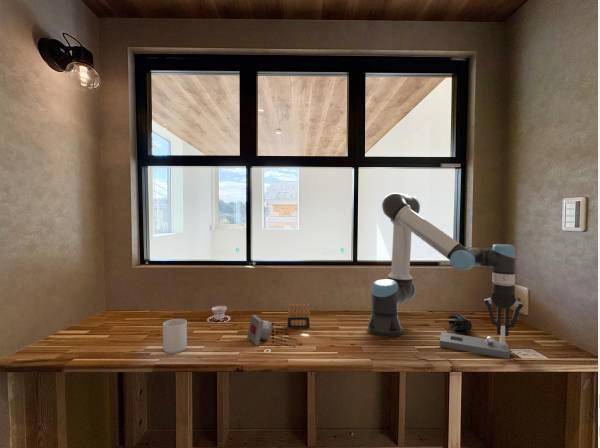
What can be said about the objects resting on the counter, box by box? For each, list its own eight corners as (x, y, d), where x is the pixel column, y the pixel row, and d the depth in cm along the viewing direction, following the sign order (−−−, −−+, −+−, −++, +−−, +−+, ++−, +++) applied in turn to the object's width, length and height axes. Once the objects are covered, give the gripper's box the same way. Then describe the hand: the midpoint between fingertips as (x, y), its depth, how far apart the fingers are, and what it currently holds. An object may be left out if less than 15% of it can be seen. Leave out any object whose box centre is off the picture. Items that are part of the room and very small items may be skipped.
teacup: (227, 323, 155) (227, 311, 155) (203, 323, 155) (203, 311, 155) (233, 316, 167) (233, 304, 167) (211, 316, 167) (211, 304, 167)
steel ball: (485, 344, 123) (486, 337, 123) (485, 342, 126) (485, 334, 126) (494, 346, 122) (494, 338, 122) (494, 343, 125) (494, 336, 125)
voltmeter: (239, 342, 131) (239, 319, 131) (255, 333, 142) (255, 312, 141) (295, 355, 119) (295, 329, 119) (307, 344, 130) (307, 320, 130)
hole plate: (439, 346, 128) (439, 340, 128) (441, 337, 137) (441, 331, 137) (509, 358, 116) (509, 352, 116) (506, 348, 126) (506, 342, 126)
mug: (184, 354, 120) (184, 325, 120) (160, 355, 118) (160, 326, 118) (190, 342, 132) (190, 315, 132) (168, 343, 130) (168, 316, 130)
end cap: (472, 334, 141) (472, 319, 141) (455, 333, 142) (455, 319, 142) (463, 326, 151) (463, 313, 151) (448, 326, 152) (448, 312, 152)
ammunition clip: (287, 327, 149) (287, 303, 149) (287, 326, 151) (287, 302, 151) (309, 328, 149) (309, 303, 149) (309, 326, 151) (309, 302, 151)
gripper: (484, 283, 121) (483, 343, 122) (525, 287, 115) (524, 350, 116) (483, 280, 128) (482, 337, 128) (521, 283, 122) (520, 343, 122)
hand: (502, 343), depth 122 cm, fingers closed
